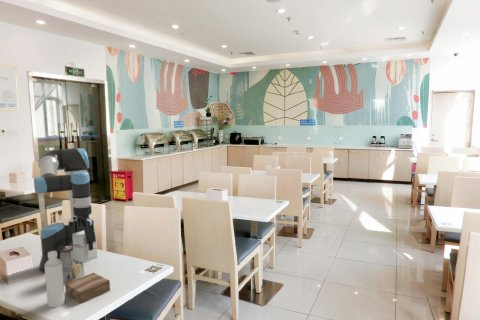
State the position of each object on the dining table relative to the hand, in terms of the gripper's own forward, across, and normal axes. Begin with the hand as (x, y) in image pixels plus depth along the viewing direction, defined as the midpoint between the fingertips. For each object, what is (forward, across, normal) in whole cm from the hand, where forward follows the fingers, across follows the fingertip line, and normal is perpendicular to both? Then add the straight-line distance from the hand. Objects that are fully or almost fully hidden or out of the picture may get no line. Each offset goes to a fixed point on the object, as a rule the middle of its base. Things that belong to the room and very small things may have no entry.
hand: (85, 254), depth 158 cm
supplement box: (+2, 0, 0) cm, 2 cm away
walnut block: (+19, 0, 0) cm, 19 cm away
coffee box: (+19, -20, +3) cm, 28 cm away
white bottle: (+19, -2, -13) cm, 23 cm away
